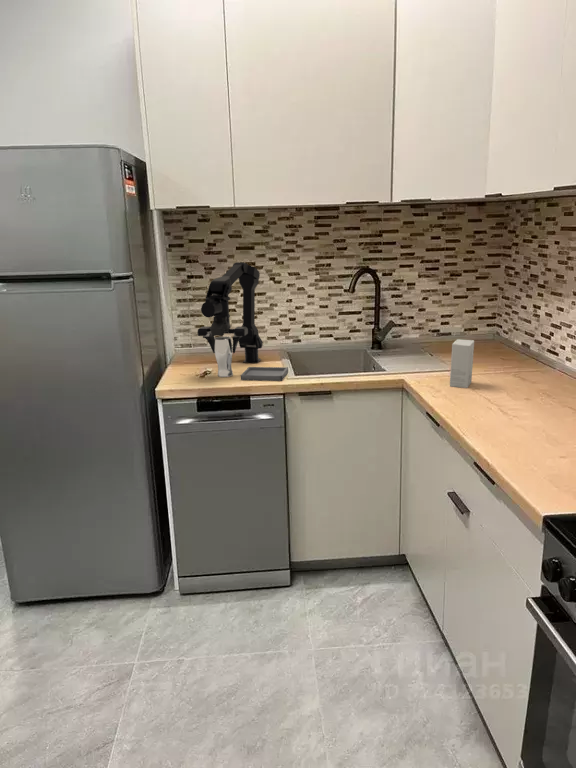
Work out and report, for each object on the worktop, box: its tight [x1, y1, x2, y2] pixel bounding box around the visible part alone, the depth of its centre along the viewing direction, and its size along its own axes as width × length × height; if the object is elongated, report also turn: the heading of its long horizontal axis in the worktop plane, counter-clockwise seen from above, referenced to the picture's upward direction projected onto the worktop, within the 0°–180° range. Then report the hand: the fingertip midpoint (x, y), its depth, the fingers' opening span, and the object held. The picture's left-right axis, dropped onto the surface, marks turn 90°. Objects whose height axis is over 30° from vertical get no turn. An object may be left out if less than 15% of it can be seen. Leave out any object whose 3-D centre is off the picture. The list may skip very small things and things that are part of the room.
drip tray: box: [240, 366, 289, 382], centre depth 229 cm, size 13×16×2 cm
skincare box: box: [449, 338, 475, 389], centre depth 207 cm, size 8×7×16 cm
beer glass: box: [214, 335, 234, 378], centre depth 230 cm, size 7×7×15 cm
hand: (224, 353), depth 229 cm, fingers open, 8 cm apart
